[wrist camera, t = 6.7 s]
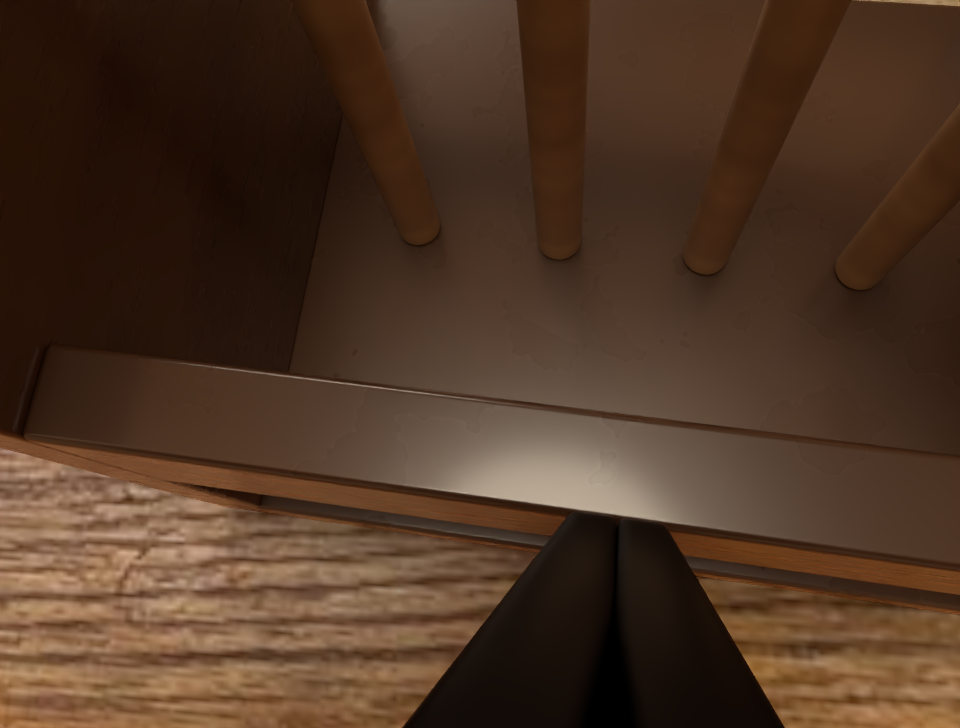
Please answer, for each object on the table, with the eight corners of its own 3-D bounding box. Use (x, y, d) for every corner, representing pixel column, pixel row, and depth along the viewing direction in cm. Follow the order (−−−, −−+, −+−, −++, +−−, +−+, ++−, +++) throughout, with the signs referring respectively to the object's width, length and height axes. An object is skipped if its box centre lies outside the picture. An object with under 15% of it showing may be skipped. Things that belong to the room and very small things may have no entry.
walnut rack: (1016, 623, 14) (1943, 677, 5) (221, 506, 16) (-291, 371, 7) (1012, 49, 17) (1592, -666, 7) (331, 5, 19) (85, -611, 9)
